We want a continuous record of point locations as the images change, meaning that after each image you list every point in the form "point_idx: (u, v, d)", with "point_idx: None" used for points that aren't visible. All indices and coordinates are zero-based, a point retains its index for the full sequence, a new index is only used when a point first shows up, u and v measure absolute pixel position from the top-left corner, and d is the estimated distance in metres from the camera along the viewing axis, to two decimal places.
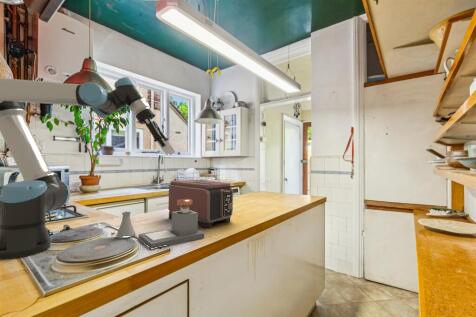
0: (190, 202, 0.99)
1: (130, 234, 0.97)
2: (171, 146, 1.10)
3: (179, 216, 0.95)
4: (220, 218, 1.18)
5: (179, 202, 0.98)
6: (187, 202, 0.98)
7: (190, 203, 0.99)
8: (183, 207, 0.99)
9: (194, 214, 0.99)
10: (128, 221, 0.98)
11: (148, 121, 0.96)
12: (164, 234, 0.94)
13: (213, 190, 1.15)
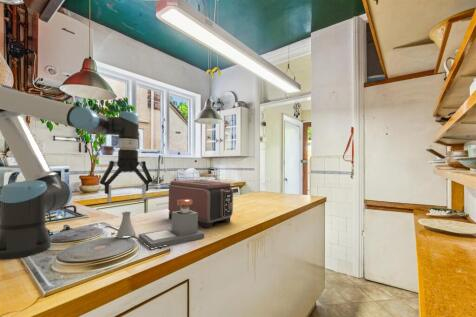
0: (190, 202, 0.99)
1: (130, 234, 0.97)
2: (144, 192, 1.02)
3: (179, 216, 0.95)
4: (220, 218, 1.18)
5: (179, 202, 0.98)
6: (187, 202, 0.98)
7: (190, 203, 0.99)
8: (183, 207, 0.99)
9: (194, 214, 0.99)
10: (128, 221, 0.98)
11: (110, 164, 0.94)
12: (164, 234, 0.94)
13: (213, 190, 1.15)
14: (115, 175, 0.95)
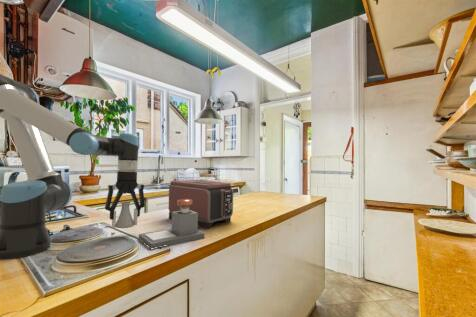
0: (190, 202, 0.99)
1: (129, 224, 0.97)
2: (135, 218, 1.00)
3: (179, 216, 0.95)
4: (220, 218, 1.18)
5: (179, 202, 0.98)
6: (187, 202, 0.98)
7: (190, 203, 0.99)
8: (183, 207, 0.99)
9: (194, 214, 0.99)
10: (127, 211, 0.98)
11: (109, 189, 0.94)
12: (164, 234, 0.94)
13: (213, 190, 1.15)
14: (117, 199, 0.96)
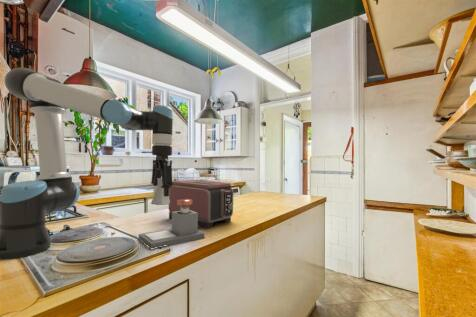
0: (190, 202, 0.99)
1: None
2: None
3: (179, 216, 0.95)
4: (220, 218, 1.18)
5: (179, 202, 0.98)
6: (187, 202, 0.98)
7: (190, 203, 0.99)
8: (183, 207, 0.99)
9: (194, 214, 0.99)
10: None
11: (169, 164, 0.89)
12: (164, 234, 0.94)
13: (214, 190, 1.15)
14: None
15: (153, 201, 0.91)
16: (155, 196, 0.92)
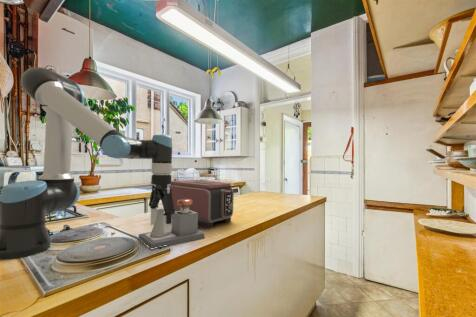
0: (190, 202, 0.99)
1: None
2: None
3: (179, 216, 0.95)
4: (221, 218, 1.18)
5: (179, 202, 0.98)
6: (187, 202, 0.98)
7: (190, 203, 0.99)
8: (183, 207, 0.99)
9: (194, 214, 0.99)
10: None
11: (169, 191, 0.89)
12: None
13: (214, 190, 1.15)
14: None
15: (152, 233, 0.91)
16: (154, 228, 0.92)
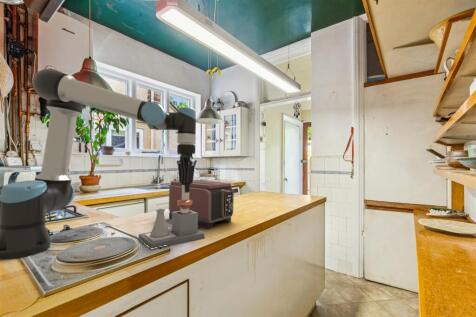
0: (190, 202, 0.99)
1: None
2: None
3: (179, 216, 0.95)
4: (221, 218, 1.18)
5: (179, 202, 0.98)
6: (187, 203, 0.98)
7: (190, 203, 0.99)
8: (183, 207, 0.99)
9: (194, 214, 0.99)
10: None
11: (193, 164, 0.97)
12: None
13: (214, 190, 1.15)
14: None
15: (152, 233, 0.91)
16: (154, 228, 0.92)
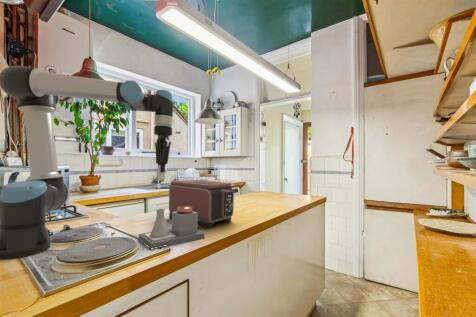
0: (190, 209, 0.99)
1: None
2: None
3: (179, 216, 0.95)
4: (221, 218, 1.18)
5: (179, 209, 0.98)
6: (187, 210, 0.98)
7: (190, 210, 0.99)
8: None
9: (194, 214, 0.99)
10: None
11: (168, 145, 1.00)
12: None
13: (214, 190, 1.15)
14: None
15: (152, 233, 0.91)
16: (154, 228, 0.92)
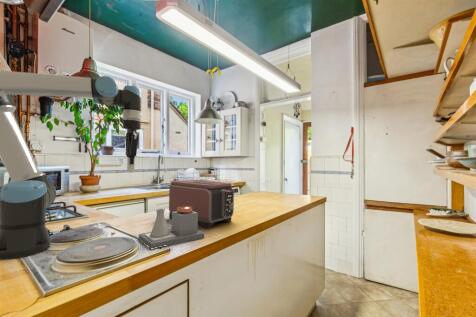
0: (190, 209, 0.99)
1: None
2: (133, 165, 1.10)
3: (179, 216, 0.95)
4: (221, 218, 1.18)
5: (179, 209, 0.98)
6: (187, 210, 0.98)
7: (190, 210, 0.99)
8: None
9: (194, 214, 0.99)
10: None
11: (136, 138, 1.05)
12: None
13: (214, 190, 1.15)
14: None
15: (152, 233, 0.91)
16: (154, 228, 0.92)
